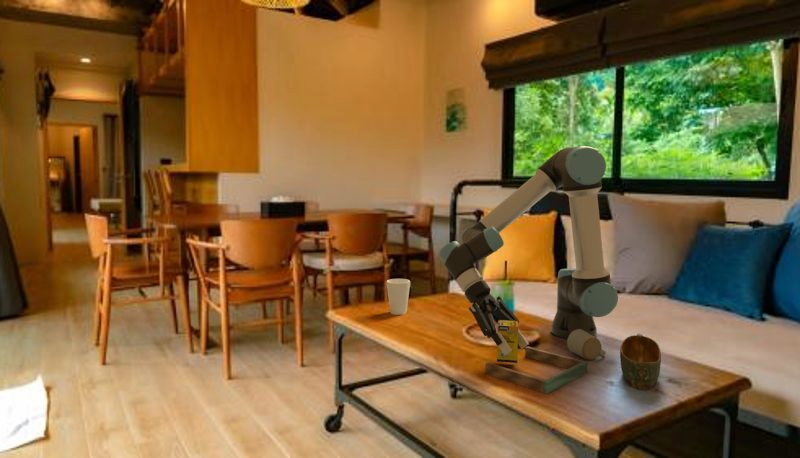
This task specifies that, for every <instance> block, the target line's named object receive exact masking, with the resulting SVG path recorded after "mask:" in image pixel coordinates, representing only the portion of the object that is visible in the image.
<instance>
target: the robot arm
mask: <svg viewBox="0 0 800 458" xmlns="http://www.w3.org/2000/svg"><path fill="white" fill-rule="evenodd" d="M606 170H607V163H606V158H605V157H604V155H603V153H601V152H600V151H599V150H598V149H596V148H594V147H592V146H585V145H580V146H575V147H574V146H573V147H566V148H565V147H564V148H563V149H560V150H558V151H557V152H555V153H554V154H552V156H550V157H549V158H548V159H547V160H545V161H544V162H543V164H541V165H540V166H539V167H538V168H537V169H535V174H534V175H533V176H532V177H531V178H529V179H528V180H527V181H525V182H524V183H523V184H522V185H521V186H519V188H517V189H516V190H515V191H514V192H513V193H511V194H510V195H509V196H508V197H507V198H505V199H504V200H503V201H501V202H500V203H499V204H498V205H497V206H495V207H494V208H493V209H492V210H490V211H489V212H488V213H487V214H486V215H485V216H483V217H482V218H480V220H479V221H477V223H475V224H474V225H472V226H471V227H470V226H469V227H467V228H465V229H464V230H462V233H461V236H460V241H461V243H459V242H458V241H456V240H454V241H451V242H448V243H446V244H445V245H444V246H443V247H442V248H440V251H439V253H438V255H439V258H440V260H441V262H442V263H443V265H444V266H445V268H446V269H447V271H448V272H449V274H450V275H451V276H452V278H453V280H454V281H455V283H457V285H458V286H459V288H460V289H461V291H462V292H463V293H464V296H465V297H466V299H467V300H468V302H469V303H470V304H471V305H470V306H469V307H468V310H469V312H471V314H472V315H473V317H474V319H475V320H476V323H477V325H478V327H479V329H480V331H481V332H482V335H483V336H484V337H486V338H488V339H492V341H493V342H494V343H495V344H496V346H497V345H498V347H499V348H500V350H501V351H502V353H503V354H504V356H507V355H508V354H509V353H510V352H511V351H512V349H511V348H510V347H509V345H508V344H507V342H506V341H505V339H504V338H503V336H502V335H501V333H500V332H497V331H498V330H497V327H496V326H495V322H494V319H493V316H495V317H496V318H498V320H506V321H518V325H519V323H520V319H519V318H517V316H516V315H515V314H514V313H513V311H512V310H511V309H510V308H509V307H508V305H507V304H506V303H505V302H504V300H503V298H502V296H500V295H499V296H497V297H494V296H493V295H492V294H491V288H490V286H489V285H488V284H487V282H486V281H485V280H484V277H483V276H482V274H481V273H480V272H479V270H478V268H477V267H476V266H475V265H476V264H477V263H479V262H480V261H482V260H484V259H486V258H487V257H489V256H491V255H492V254H494V253H497V251H498V250H500V249H501V248H503V247H504V239H503V237H502V236H501V234H500V233H501V232H502V231H504V230H505V229H506V228H507V227H509V226H510V225H512V223H513V222H515V221H516V220H517V219H518V218H520V217H521V216H522V215H523V214H525V213H526V212H527V211H528V210H530V208H532V207H533V206H534V205H535V204H536V203H538V202H539V201H541V200H542V199H543V198H544V197H545V196H546V195H548V194H549V193H550V192H556V191H557V190H558V189H560V188H561V187H562V191H563V193H564V194H566V195H567V196H568V202H569V212H570V220H571V230H572V241H573V243H572V244H573V249H574V262H575V268H561V269H560V270H559V271H558V273H557V298H556V300H557V303H556V307H557V308H556V312H555V315H554V318H553V321H552V324H551V331H550V332H551V333H552V334H553V335H555V336H557V337H559V338H563V339H568V337H569V335H570V334H571V333H572V332H573V331H574V330H577V329H582V330H584V331H586V332H587V333H589V334H590V335H592V336H594V337H596V338H597V334H598V333H597V327H596V322H595V319H594V318H601V317H602V318H604V317H606V316H607V315H610V314H611V313H612V312H613V310H615V309H616V307H617V305H618V301H619V294H618V293H619V292H618V290H617V289H616V287H615V286H614V285H613V284H612V281H611V272H610V271H609V270H608V269H607V268H605V262H604V251H603V243H602V231H601V230H602V229H601V221H600V220H601V219H600V209H599V200H598V193H599V192H600V190H601V189H602V188H603V187H602V179H603V176H604V175H605V173H606ZM492 315H493V316H492ZM528 345H530V344H529V341H528V340H527V339H526V338H525V336H524V334H523V332H522V331H521V330H520V328H519V327H518V346H519V347H520V349H521V350H524V349H525V347H527V346H528Z"/></svg>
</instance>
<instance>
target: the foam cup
mask: <svg viewBox="0 0 800 458" xmlns="http://www.w3.org/2000/svg"><path fill="white" fill-rule="evenodd" d="M386 288H387V289H386V290H387V296H388V304H389V312H390V314H391V315H396V316H400V315H406V314H407V310H408V303H409V302H408V301H409V295H410V288H411V281H410V280H409V279H406V278H391V279H387V280H386Z"/></svg>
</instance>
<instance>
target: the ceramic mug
mask: <svg viewBox="0 0 800 458" xmlns="http://www.w3.org/2000/svg"><path fill="white" fill-rule="evenodd" d="M566 341H567V342H566V344H567V348H568V349H569V351H570V352H572V353H573V354H575V355H577V356H579V357H581V358H582V359H584V360H590V361H591V360H592V361H593V360H596V358H598V357H599V356H602V357H605V355H606V353H607V352H606V351H605V350H604V349H602V344H601V341H600V339H598V338H597V336H596V337H594V336H592V335H590V334H589V333H587V332H586V331H584V330H582V329H577V330H574V331H573V332H572V333H571V334H570V335H569V337H568V338H567V340H566Z"/></svg>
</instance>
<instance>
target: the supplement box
mask: <svg viewBox="0 0 800 458" xmlns="http://www.w3.org/2000/svg"><path fill="white" fill-rule="evenodd" d="M518 328H519V324H518V321H515V320H514V321H506V320H500V319H497V330H496V331H497V332H500V333H501V335H502V336H503V338H504V339H505V341H506V342H507V344H508V345H509V347H510V348H511V349H512V351H511V352H510V353H509V354H508V355H507V356H504V354H503V353H502V351H501V350H500V348H499V347H498V345H496V362H498V363H499V362H500V363H511V364H512V363H513V364H517V363H518V348H519V347H518V346H519V344H518ZM497 332H496V333H497Z"/></svg>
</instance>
